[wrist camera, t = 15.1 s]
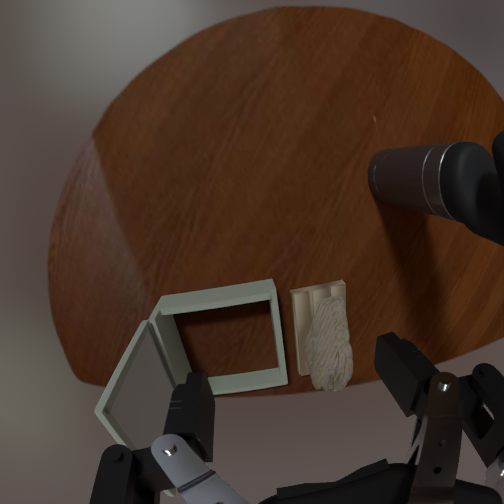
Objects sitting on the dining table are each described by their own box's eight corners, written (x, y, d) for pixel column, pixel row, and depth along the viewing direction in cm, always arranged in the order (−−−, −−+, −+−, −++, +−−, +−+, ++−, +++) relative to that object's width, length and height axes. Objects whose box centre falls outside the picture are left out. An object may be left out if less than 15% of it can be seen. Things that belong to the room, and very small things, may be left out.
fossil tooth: (346, 293, 43) (328, 369, 45) (311, 292, 42) (296, 370, 44) (382, 320, 32) (353, 406, 34) (341, 321, 31) (316, 412, 33)
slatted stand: (341, 279, 43) (346, 284, 41) (342, 358, 48) (345, 365, 46) (289, 290, 43) (292, 295, 41) (297, 369, 48) (299, 376, 45)
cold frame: (272, 278, 42) (315, 397, 18) (284, 370, 47) (314, 485, 23) (156, 296, 42) (93, 411, 17) (187, 383, 47) (168, 496, 22)
